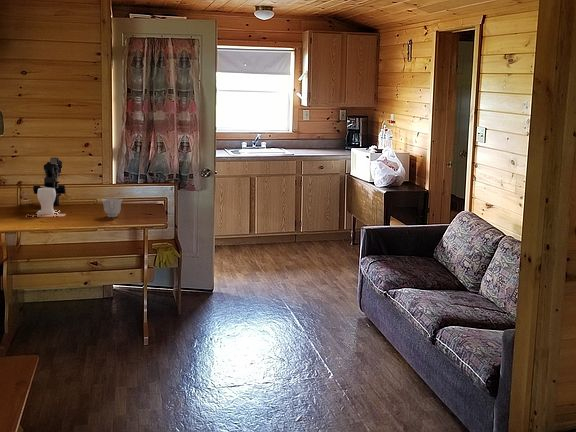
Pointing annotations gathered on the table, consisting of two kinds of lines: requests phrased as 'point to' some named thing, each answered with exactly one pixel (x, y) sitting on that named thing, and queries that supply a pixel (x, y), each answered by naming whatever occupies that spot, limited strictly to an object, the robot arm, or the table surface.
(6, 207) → the table surface
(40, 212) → the t mat
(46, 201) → the white vase
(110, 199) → the teacup
